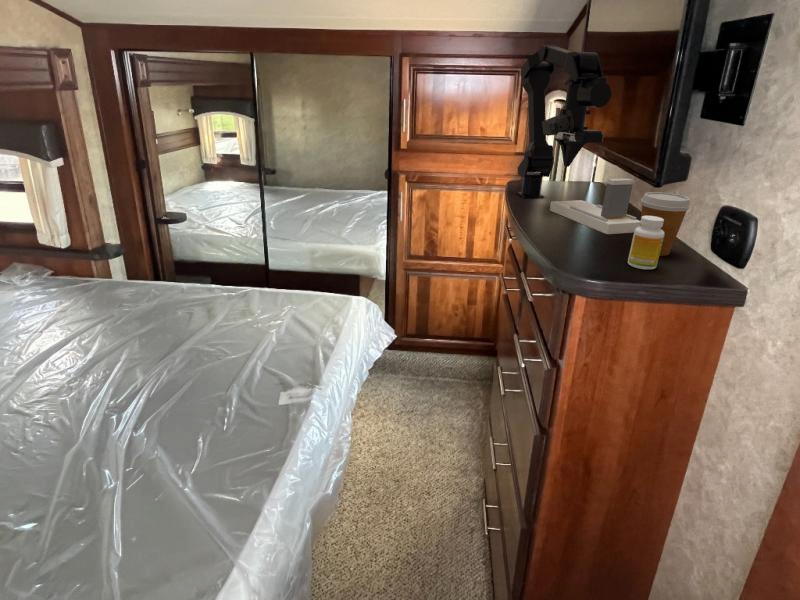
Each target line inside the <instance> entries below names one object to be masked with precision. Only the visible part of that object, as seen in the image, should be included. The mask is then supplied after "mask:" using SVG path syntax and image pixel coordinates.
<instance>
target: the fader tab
mask: <svg viewBox="0 0 800 600" xmlns="http://www.w3.org/2000/svg"><path fill="white" fill-rule="evenodd" d="M633 185H634V179H633V178H632V179H631V178H607V182H606V186H605V192H604V197H603V201H602V212H601V216H603V217H605V218H610V217H626V214H627V213H628V208H629V204H630V199H631V195H632V189H633Z"/></svg>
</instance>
